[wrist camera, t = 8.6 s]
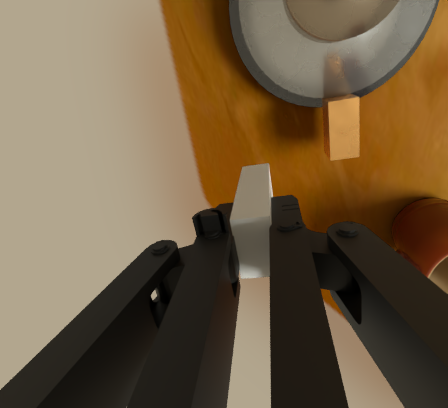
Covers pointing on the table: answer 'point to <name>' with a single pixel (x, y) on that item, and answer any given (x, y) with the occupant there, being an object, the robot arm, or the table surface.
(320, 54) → the turntable
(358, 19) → the cover
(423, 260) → the mug
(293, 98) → the turntable base
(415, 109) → the table surface
